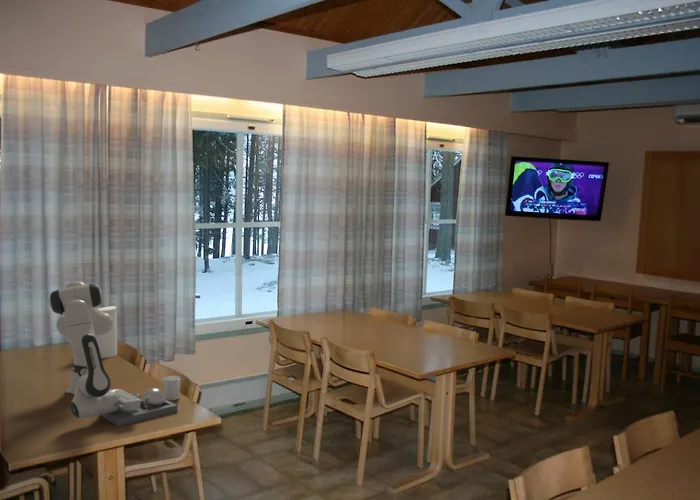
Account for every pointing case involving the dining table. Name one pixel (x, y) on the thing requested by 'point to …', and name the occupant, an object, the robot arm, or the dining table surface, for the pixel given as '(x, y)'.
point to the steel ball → (153, 398)
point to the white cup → (172, 387)
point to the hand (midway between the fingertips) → (140, 395)
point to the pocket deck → (139, 413)
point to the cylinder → (108, 335)
